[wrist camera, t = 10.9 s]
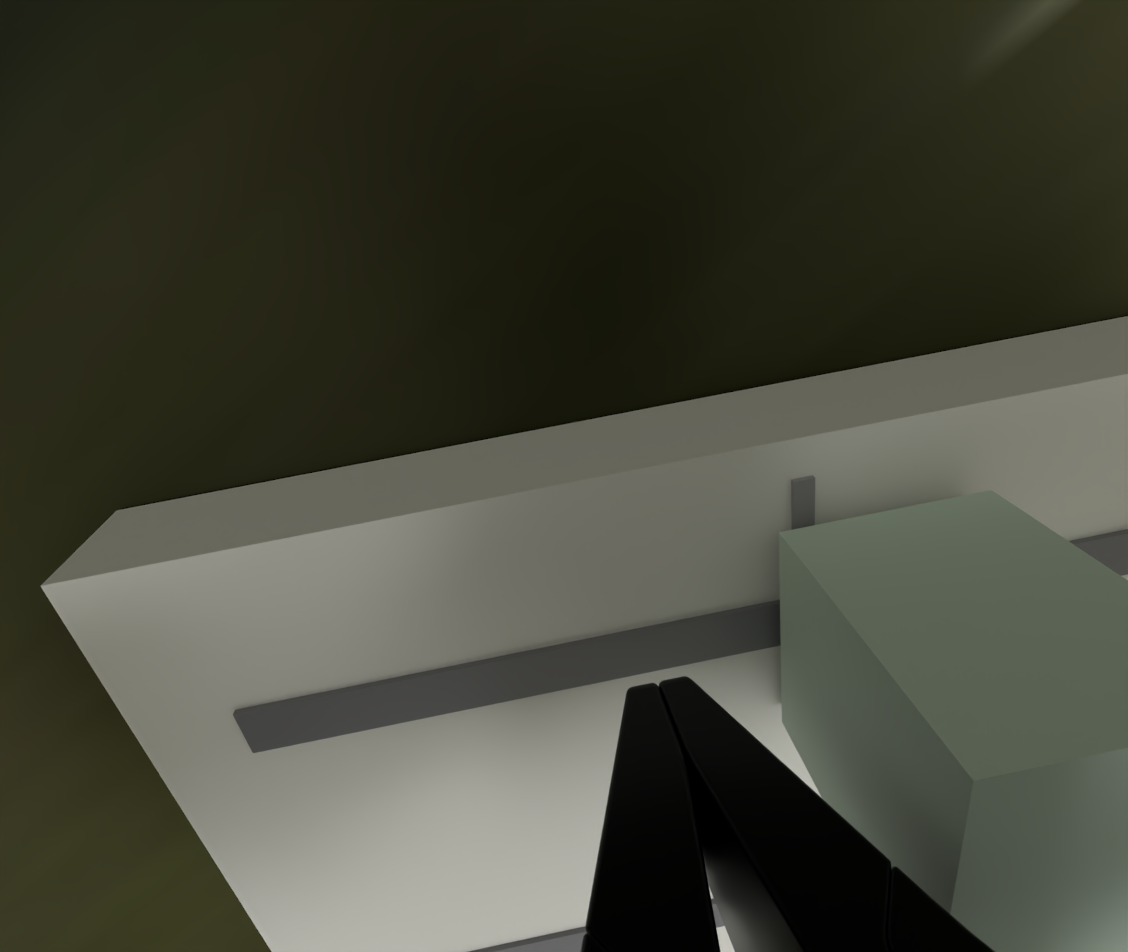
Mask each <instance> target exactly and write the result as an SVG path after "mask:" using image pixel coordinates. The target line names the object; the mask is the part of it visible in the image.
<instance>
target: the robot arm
mask: <svg viewBox="0 0 1128 952" xmlns="http://www.w3.org/2000/svg"><path fill="white" fill-rule="evenodd" d="M709 887H710V890H711V892H712V895H713V897H714V900H715V902H716V905H717V907H718V910H719V913H720V915H721V918H722V920H723V923H724V925H725V928H726V930H727V933H728V935H729V938H730V941H731V943H732V946H733V948H734V951H735V952H995V951H994V950H993V949H991V948H990V947H989V946H988V945H986V944H985V943H984V942H983V941H981V940H980V939H979V938H978V937H976V936H975V935H974V934H973V933H971V932H970V931H969V930H968V929H967V928H966V927H965V926H963V925H962V924H961V923H960V922H959V921H958V920H956V919H955V918H954V917H953V916H952V915H951V914H950V913H948V912H947V911H946V910H945V909H944V908H943V907H942V906H940V905H939V904H938V903H937V902H936V901H935V900H933V899H932V898H931V897H930V896H929V895H928V894H927V893H926V892H924V891H923V890H922V889H921V888H920V887H919V886H918V885H917V884H916V883H915V882H914V881H912V880H911V879H910V878H909V877H908V876H907V875H906V874H905V873H904V872H903V871H902V870H901V869H899V868H898V867H896V866H894V867H892V869H891V861H890V860H889V859H888V858H887V857H886V856H885V855H884V854H883V853H881V852H880V851H879V850H878V849H877V848H876V847H875V846H874V845H873V844H872V843H871V842H869V841H868V840H867V839H866V838H865V837H864V836H863V835H862V834H861V833H860V832H858V831H857V830H856V829H855V828H854V827H853V826H852V825H851V824H850V823H849V822H847V821H846V820H845V819H844V818H843V817H842V816H841V815H840V814H839V813H838V812H837V811H835V810H834V809H833V808H832V807H831V806H830V805H829V804H828V803H827V802H826V801H824V800H823V799H822V798H821V797H820V796H819V795H818V794H817V793H816V792H815V791H814V790H812V789H811V788H810V787H809V786H808V785H807V784H806V783H805V782H804V781H803V780H801V779H800V778H799V777H798V776H797V775H796V774H795V773H794V772H793V771H792V770H790V769H789V768H788V767H787V766H786V765H785V764H784V763H783V762H782V761H781V760H780V759H778V758H777V757H776V756H775V755H774V754H773V753H772V752H771V751H770V750H769V749H767V748H766V747H765V746H764V745H763V744H762V743H761V742H760V741H759V740H758V739H757V738H755V737H754V736H753V735H752V734H751V733H750V732H749V731H748V730H747V729H746V728H744V727H743V726H742V725H741V724H740V723H739V722H738V721H737V720H736V719H735V718H734V717H732V716H731V715H730V714H729V713H728V712H727V711H726V710H725V709H724V708H723V707H721V706H720V705H719V704H718V703H717V702H716V701H715V700H714V699H713V698H712V697H710V696H709V695H708V694H707V693H706V692H705V691H704V690H703V689H702V688H701V687H700V686H698V685H697V684H696V683H695V682H694V681H693V680H692V679H691V678H689V677H686V676H682V677H677V678H672V679H668V680H663V681H661V682H660V683H659V685H657V684H655V683H648V684H643V685H638V686H634V687H630V688H629V689H628V690H627V692H626V697H625V703H624V709H623V714H622V720H621V726H620V731H619V737H618V743H617V748H616V754H615V760H614V765H613V771H612V777H611V782H610V788H609V794H608V800H607V805H606V811H605V817H604V822H603V828H602V834H601V839H600V845H599V851H598V856H597V862H596V868H595V874H594V879H593V885H592V891H591V896H590V902H589V908H588V913H587V919H586V925H585V931H586V934H584V936H583V940H582V945H581V951H580V952H721V951H720V946H719V940H718V934H717V929H716V923H715V918H714V912H713V907H712V901H711V896H710V890H709Z"/></svg>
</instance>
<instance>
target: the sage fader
mask: <svg viewBox="0 0 1128 952" xmlns="http://www.w3.org/2000/svg"><path fill="white" fill-rule="evenodd" d="M779 575H780V641H781V706H782V723H783V725H784V727H785V729H786V731H787V733H788V735H789V736H790V738H791V740H792V742H793V744H794V746H795V748H796V750H797V752H798V753H799V755H800V757H801V759H802V761H803V763H804V765H805V767H806V769H807V770H808V772H809V774H810V776H811V778H812V780H813V782H814V784H815V786H816V788H817V789H818V791H819V793H820V795H821V797H822V799H823V800H824V801H826V802H827V803H828V804H829V805H830V806H831V807H832V808H833V809H834V810H835V811H837V812H838V813H839V814H840V815H841V816H842V817H843V818H844V819H845V820H846V821H847V822H849V823H850V824H851V825H852V826H853V827H854V828H855V829H856V830H857V831H858V832H860V833H861V834H862V835H863V836H864V837H865V838H866V839H867V840H868V841H869V842H871V843H872V844H873V845H874V846H875V847H876V848H877V849H878V850H879V851H880V852H881V853H883V854H884V855H885V856H886V857H887V858H888V859H889V860H890V861H891V869H892V867H894V866H896V867H898V868H899V869H901V870H902V871H903V872H904V873H905V874H906V875H907V876H908V877H909V878H910V879H911V880H912V881H914V882H915V883H916V884H917V885H918V886H919V887H920V888H921V889H922V890H923V891H924V892H926V893H927V894H928V895H929V896H930V897H931V898H932V899H933V900H935V901H936V902H937V903H938V904H939V905H940V906H942V907H943V908H944V909H945V910H946V911H947V912H948V913H950V914H951V915H952V916H953V917H954V918H955V919H956V920H958V921H959V922H960V923H961V924H962V925H963V926H965V927H966V928H967V929H968V930H969V931H970V932H971V933H973V934H974V935H975V936H976V937H978V938H979V939H980V940H981V941H983V942H984V943H985V944H986V945H988V946H989V947H990V948H991V949H993V950H994V951H995V952H1128V580H1126V579H1125V578H1123V577H1122V576H1120V575H1119V574H1117V573H1116V572H1114V571H1113V570H1111V569H1110V568H1108V567H1107V566H1105V565H1104V564H1102V563H1101V562H1099V561H1098V560H1096V559H1095V558H1093V557H1092V556H1090V555H1089V554H1087V553H1086V552H1084V551H1083V550H1081V549H1080V548H1078V547H1077V546H1075V545H1074V544H1072V543H1071V542H1069V541H1068V540H1066V539H1064V538H1063V537H1061V536H1060V535H1058V534H1057V533H1055V532H1054V531H1052V530H1051V529H1049V528H1048V527H1046V526H1045V525H1043V524H1042V523H1040V522H1039V521H1037V520H1036V519H1034V518H1033V517H1031V516H1030V515H1028V514H1027V513H1025V512H1024V511H1022V510H1021V509H1019V508H1018V507H1016V506H1015V505H1013V504H1012V503H1010V502H1009V501H1007V500H1006V499H1004V498H1003V497H1001V496H1000V495H998V494H997V493H995V492H994V491H992V490H989V491H984V492H979V493H974V494H969V495H964V496H959V497H954V498H949V499H943V500H938V501H933V502H928V503H923V504H918V505H913V506H908V507H903V508H898V509H893V510H888V511H883V512H878V513H873V514H868V515H863V516H858V517H853V518H848V519H843V520H838V521H833V522H828V523H823V524H818V525H813V526H808V527H803V528H798V529H793V530H788V531H783V532H779Z"/></svg>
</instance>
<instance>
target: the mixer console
mask: <svg viewBox="0 0 1128 952" xmlns="http://www.w3.org/2000/svg"><path fill="white" fill-rule="evenodd" d="M989 490H992V491H994V492H995V493H997V494H998V495H1000V496H1001V497H1003V498H1004V499H1006V500H1007V501H1009V502H1010V503H1012V504H1013V505H1015V506H1016V507H1018V508H1019V509H1021V510H1022V511H1024V512H1025V513H1027V514H1028V515H1030V516H1031V517H1033V518H1034V519H1036V520H1037V521H1039V522H1040V523H1042V524H1043V525H1045V526H1046V527H1048V528H1049V529H1051V530H1052V531H1054V532H1055V533H1057V534H1058V535H1060V536H1061V537H1063V538H1064V539H1066V540H1068V541H1069V542H1071V543H1072V544H1074V545H1075V546H1077V547H1078V548H1080V549H1081V550H1083V551H1084V552H1086V553H1087V554H1089V555H1090V556H1092V557H1093V558H1095V559H1096V560H1098V561H1099V562H1101V563H1102V564H1104V565H1105V566H1107V567H1108V568H1110V569H1111V570H1113V571H1114V572H1116V573H1117V574H1119V575H1120V576H1122V577H1123V578H1125V579H1126V580H1128V316H1125V317H1120V318H1115V319H1110V320H1104V321H1099V322H1094V323H1089V324H1084V325H1078V326H1073V327H1068V328H1063V329H1058V330H1052V331H1047V332H1042V333H1037V334H1032V335H1026V336H1021V337H1016V338H1011V339H1006V340H1000V341H995V342H990V343H985V344H980V345H974V346H969V347H964V348H959V349H954V350H948V351H943V352H938V353H933V354H928V355H922V356H917V357H912V358H907V359H902V360H896V361H891V362H886V363H881V364H876V365H870V366H865V367H860V368H855V369H850V370H844V371H839V372H834V373H829V374H824V375H818V376H813V377H808V378H803V379H798V380H792V381H787V382H782V383H777V384H772V385H766V386H761V387H756V388H751V389H745V390H740V391H735V392H730V393H725V394H719V395H714V396H709V397H704V398H699V399H693V400H688V401H683V402H678V403H673V404H667V405H662V406H657V407H652V408H647V409H641V410H636V411H631V412H626V413H621V414H615V415H610V416H605V417H600V418H595V419H589V420H584V421H579V422H574V423H569V424H563V425H558V426H553V427H548V428H543V429H537V430H532V431H527V432H522V433H517V434H511V435H506V436H501V437H496V438H491V439H485V440H480V441H475V442H470V443H465V444H459V445H454V446H449V447H444V448H439V449H433V450H428V451H423V452H418V453H413V454H407V455H402V456H397V457H392V458H387V459H381V460H376V461H371V462H366V463H361V464H355V465H350V466H345V467H340V468H335V469H329V470H324V471H319V472H314V473H309V474H303V475H298V476H293V477H288V478H283V479H277V480H272V481H267V482H262V483H257V484H251V485H246V486H241V487H236V488H231V489H225V490H220V491H215V492H210V493H205V494H199V495H194V496H189V497H184V498H179V499H173V500H168V501H163V502H158V503H153V504H147V505H142V506H137V507H132V508H127V509H121V510H117V511H116V512H115V513H114V514H113V515H112V516H111V517H110V518H109V519H108V520H107V521H106V522H104V523H103V524H102V525H101V526H100V527H99V528H98V529H97V530H96V531H95V532H94V533H93V534H92V535H91V536H90V537H89V538H88V539H87V540H86V541H85V542H84V543H83V544H82V545H81V546H80V547H79V548H78V549H77V550H76V551H75V552H74V553H73V554H72V555H71V556H70V557H69V558H68V559H67V560H66V561H65V562H64V563H63V564H62V565H61V566H60V567H59V568H58V569H57V570H56V571H55V572H54V573H53V574H52V575H51V576H50V577H49V578H48V579H47V580H46V581H45V582H44V583H43V584H42V585H41V588H42V589H43V591H44V593H45V594H46V596H47V597H48V599H49V601H50V602H51V604H52V605H53V607H54V608H55V610H56V612H57V613H58V615H59V616H60V618H61V619H62V621H63V623H64V624H65V626H66V627H67V629H68V631H69V632H70V634H71V635H72V637H73V638H74V640H75V642H76V643H77V645H78V646H79V648H80V650H81V651H82V653H83V654H84V656H85V657H86V659H87V661H88V662H89V664H90V665H91V667H92V668H93V670H94V672H95V673H96V675H97V676H98V678H99V680H100V681H101V683H102V684H103V686H104V687H105V689H106V691H107V692H108V694H109V695H110V697H111V699H112V700H113V702H114V703H115V705H116V706H117V708H118V710H119V711H120V713H121V714H122V716H123V717H124V719H125V721H126V722H127V724H128V725H129V727H130V729H131V730H132V732H133V733H134V735H135V736H136V738H137V740H138V741H139V743H140V744H141V746H142V748H143V749H144V751H145V752H146V754H147V755H148V757H149V759H150V760H151V762H152V763H153V765H154V767H155V768H156V770H157V771H158V773H159V774H160V776H161V778H162V779H163V781H164V782H165V784H166V785H167V787H168V789H169V790H170V792H171V793H172V795H173V797H174V798H175V800H176V801H177V803H178V804H179V806H180V808H181V809H182V811H183V812H184V814H185V816H186V817H187V819H188V820H189V822H190V823H191V825H192V827H193V828H194V830H195V831H196V833H197V834H198V836H199V838H200V839H201V841H202V842H203V844H204V846H205V847H206V849H207V850H208V852H209V853H210V855H211V857H212V858H213V860H214V861H215V863H216V865H217V866H218V868H219V869H220V871H221V872H222V874H223V876H224V877H225V879H226V880H227V882H228V883H229V885H230V887H231V888H232V890H233V891H234V893H235V895H236V896H237V898H238V899H239V901H240V902H241V904H242V906H243V907H244V909H245V910H246V912H247V914H248V915H249V917H250V918H251V920H252V921H253V923H254V925H255V926H256V928H257V929H258V931H259V933H260V934H261V936H262V937H263V939H264V940H265V942H266V944H267V945H268V947H269V948H270V950H271V951H272V952H580V951H581V945H582V940H583V936H584V934H586V931H585V925H586V919H587V913H588V908H589V902H590V896H591V891H592V885H593V879H594V874H595V868H596V862H597V856H598V851H599V845H600V839H601V834H602V828H603V822H604V817H605V811H606V805H607V800H608V794H609V788H610V782H611V777H612V771H613V765H614V760H615V754H616V748H617V743H618V737H619V731H620V726H621V720H622V714H623V709H624V703H625V697H626V692H627V690H628V689H629V688H630V687H634V686H638V685H643V684H648V683H655V684H657V685H659V683H660V682H661V681H663V680H668V679H672V678H677V677H682V676H686V677H689V678H691V679H692V680H693V681H694V682H695V683H696V684H697V685H698V686H700V687H701V688H702V689H703V690H704V691H705V692H706V693H707V694H708V695H709V696H710V697H712V698H713V699H714V700H715V701H716V702H717V703H718V704H719V705H720V706H721V707H723V708H724V709H725V710H726V711H727V712H728V713H729V714H730V715H731V716H732V717H734V718H735V719H736V720H737V721H738V722H739V723H740V724H741V725H742V726H743V727H744V728H746V729H747V730H748V731H749V732H750V733H751V734H752V735H753V736H754V737H755V738H757V739H758V740H759V741H760V742H761V743H762V744H763V745H764V746H765V747H766V748H767V749H769V750H770V751H771V752H772V753H773V754H774V755H775V756H776V757H777V758H778V759H780V760H781V761H782V762H783V763H784V764H785V765H786V766H787V767H788V768H789V769H790V770H792V771H793V772H794V773H795V774H796V775H797V776H798V777H799V778H800V779H801V780H803V781H804V782H805V783H806V784H807V785H808V786H809V787H810V788H811V789H812V790H814V791H815V792H816V793H817V794H818V795H819V796H820V797H821V795H820V793H819V791H818V789H817V788H816V786H815V784H814V782H813V780H812V778H811V776H810V774H809V772H808V770H807V769H806V767H805V765H804V763H803V761H802V759H801V757H800V755H799V753H798V752H797V750H796V748H795V746H794V744H793V742H792V740H791V738H790V736H789V735H788V733H787V731H786V729H785V727H784V725H783V723H782V706H781V641H780V575H779V532H783V531H788V530H793V529H798V528H803V527H808V526H813V525H818V524H823V523H828V522H833V521H838V520H843V519H848V518H853V517H858V516H863V515H868V514H873V513H878V512H883V511H888V510H893V509H898V508H903V507H908V506H913V505H918V504H923V503H928V502H933V501H938V500H943V499H949V498H954V497H959V496H964V495H969V494H974V493H979V492H984V491H989ZM821 798H822V797H821ZM709 890H710V887H709ZM710 896H711V901H712V907H713V912H714V918H715V923H716V929H717V934H718V940H719V946H720V951H721V952H735V951H734V948H733V946H732V943H731V941H730V938H729V935H728V933H727V930H726V928H725V925H724V923H723V920H722V918H721V915H720V913H719V910H718V907H717V905H716V902H715V900H714V897H713V895H712V892H711V890H710Z"/></svg>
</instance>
